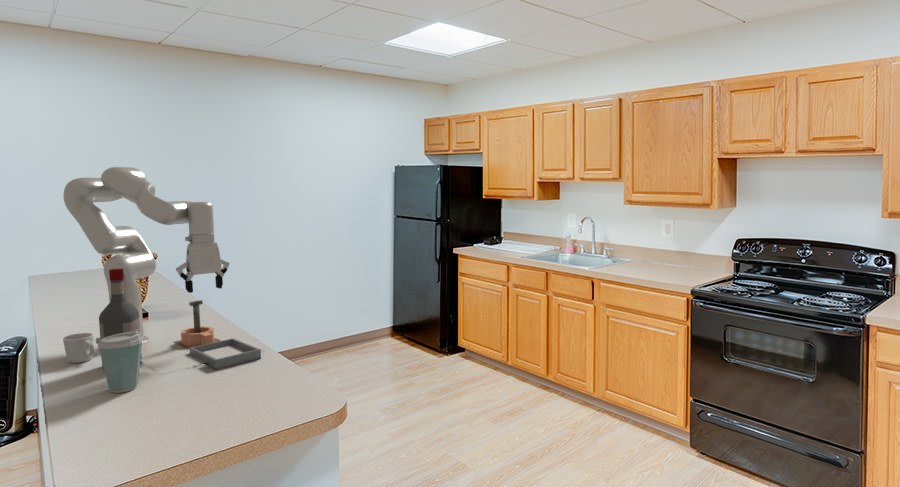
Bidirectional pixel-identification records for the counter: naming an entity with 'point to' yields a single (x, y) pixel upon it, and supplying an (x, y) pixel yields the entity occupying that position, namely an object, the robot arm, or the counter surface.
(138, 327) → the liquor
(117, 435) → the counter surface
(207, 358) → the gray rectangular frame
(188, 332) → the ring
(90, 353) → the cup
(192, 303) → the post stand
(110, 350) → the disposable coffee cup
